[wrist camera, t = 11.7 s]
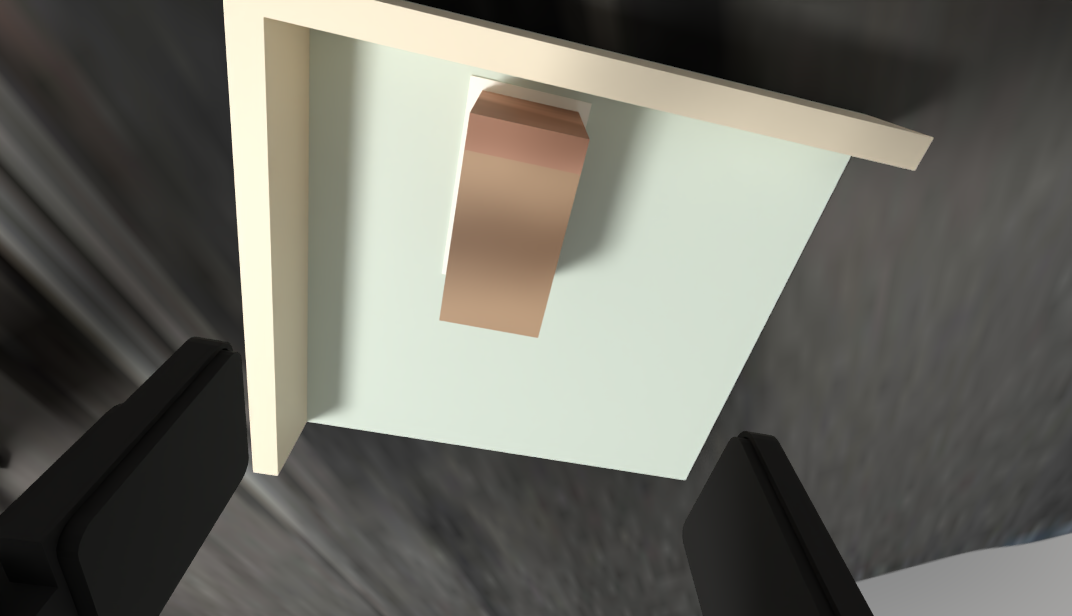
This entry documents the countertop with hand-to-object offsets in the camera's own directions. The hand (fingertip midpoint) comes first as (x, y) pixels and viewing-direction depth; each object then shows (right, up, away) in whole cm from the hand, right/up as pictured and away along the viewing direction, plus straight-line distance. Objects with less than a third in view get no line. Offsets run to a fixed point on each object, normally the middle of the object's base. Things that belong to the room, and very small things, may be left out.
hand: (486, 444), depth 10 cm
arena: (+1, +4, +16) cm, 17 cm away
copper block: (0, +8, +13) cm, 15 cm away
